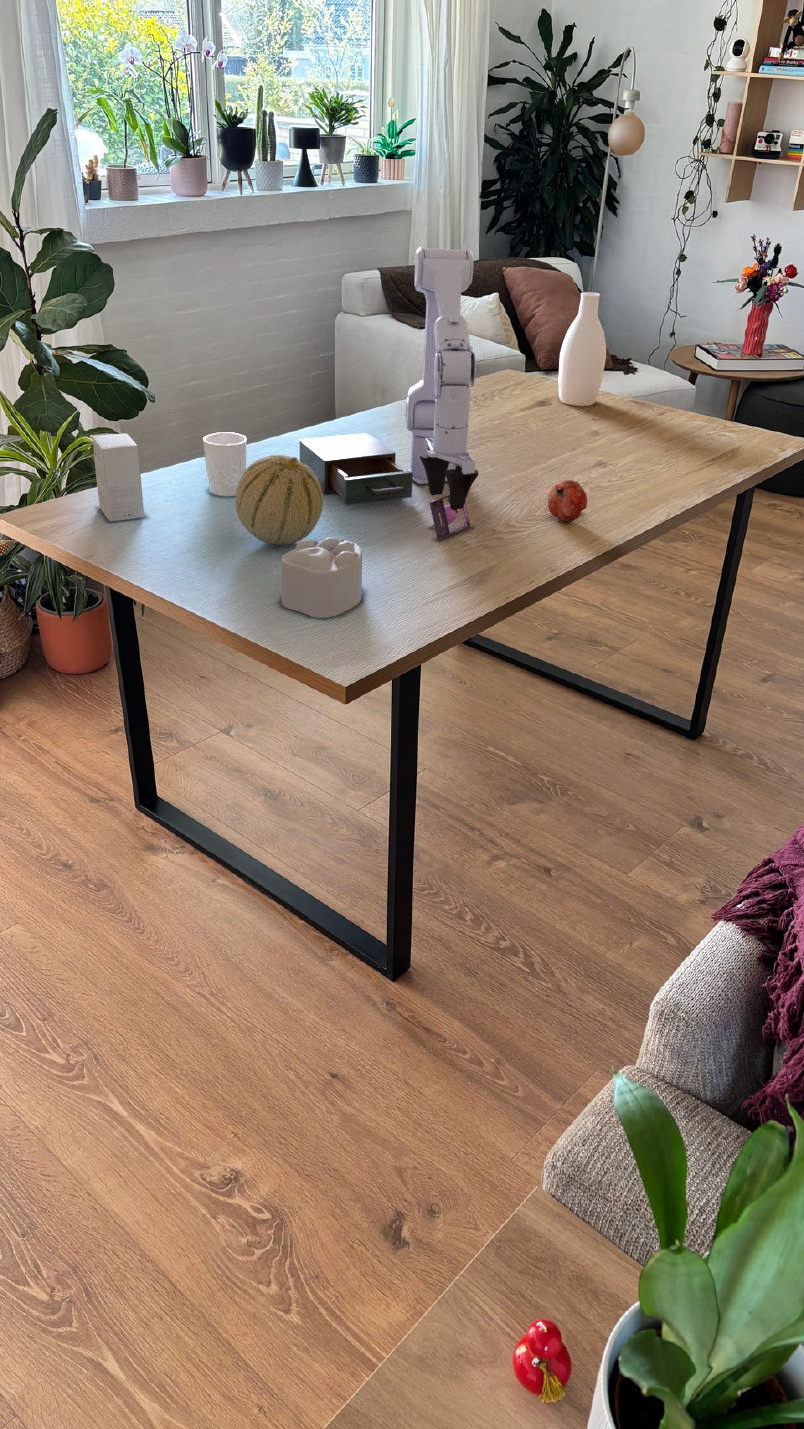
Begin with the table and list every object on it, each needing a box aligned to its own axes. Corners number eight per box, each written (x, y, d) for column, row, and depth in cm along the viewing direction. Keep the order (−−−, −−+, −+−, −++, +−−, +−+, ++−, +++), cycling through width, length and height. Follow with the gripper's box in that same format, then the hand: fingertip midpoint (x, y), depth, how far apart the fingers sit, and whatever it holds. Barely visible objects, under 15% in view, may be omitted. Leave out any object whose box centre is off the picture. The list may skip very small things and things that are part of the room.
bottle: (554, 405, 267) (566, 296, 254) (556, 394, 276) (567, 288, 263) (599, 409, 265) (614, 299, 252) (600, 397, 275) (614, 291, 262)
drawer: (422, 505, 200) (424, 480, 198) (355, 514, 195) (356, 488, 193) (384, 476, 214) (385, 452, 211) (321, 483, 208) (320, 459, 206)
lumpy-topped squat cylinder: (272, 603, 164) (271, 549, 160) (324, 575, 174) (324, 524, 169) (327, 622, 159) (327, 567, 155) (377, 592, 169) (379, 540, 164)
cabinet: (394, 486, 212) (395, 453, 208) (324, 494, 206) (324, 460, 203) (366, 465, 222) (367, 433, 219) (299, 472, 217) (299, 439, 213)
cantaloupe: (243, 523, 192) (240, 439, 184) (326, 527, 192) (327, 443, 184) (229, 556, 179) (225, 467, 171) (318, 560, 179) (318, 471, 171)
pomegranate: (557, 520, 205) (528, 497, 198) (581, 488, 204) (553, 464, 196) (581, 537, 200) (553, 514, 193) (606, 505, 199) (579, 480, 192)
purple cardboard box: (434, 501, 186) (466, 489, 192) (411, 504, 189) (443, 492, 195) (442, 540, 188) (473, 526, 194) (420, 541, 191) (451, 528, 197)
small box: (145, 518, 192) (138, 445, 185) (109, 522, 190) (101, 449, 183) (133, 503, 198) (127, 432, 192) (98, 507, 196) (90, 435, 189)
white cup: (240, 499, 202) (238, 447, 197) (200, 495, 203) (196, 442, 198) (253, 486, 208) (252, 434, 203) (214, 482, 210) (211, 430, 205)
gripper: (410, 414, 187) (407, 490, 194) (450, 438, 176) (445, 518, 183) (446, 411, 189) (442, 486, 196) (488, 434, 178) (482, 513, 185)
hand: (446, 501), depth 190 cm, fingers open, 7 cm apart
